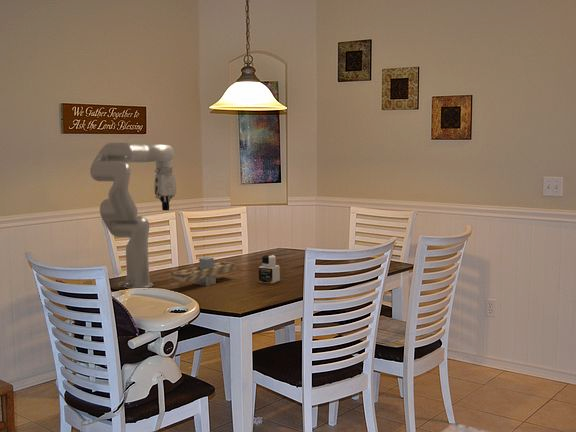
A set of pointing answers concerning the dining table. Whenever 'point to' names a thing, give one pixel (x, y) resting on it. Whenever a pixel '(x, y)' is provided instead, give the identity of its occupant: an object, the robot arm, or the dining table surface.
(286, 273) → the dining table surface
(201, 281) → the fulcrum
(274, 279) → the medicine bottle
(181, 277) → the beam
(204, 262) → the block
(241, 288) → the dining table surface
